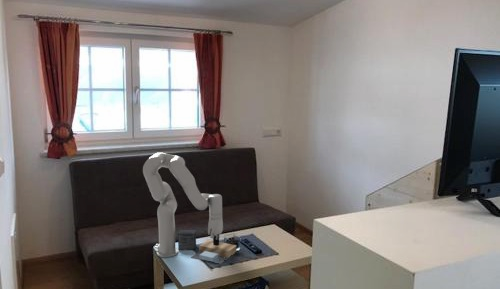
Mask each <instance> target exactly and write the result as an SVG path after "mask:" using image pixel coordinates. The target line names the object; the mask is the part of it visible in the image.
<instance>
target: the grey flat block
mask: <svg viewBox="0 0 500 289" xmlns="http://www.w3.org/2000/svg"><path fill="white" fill-rule="evenodd" d="M199 257H200V259H202V260H201V261H204V260H208V261H214V260H216V259H217V258H218V254H217V253H212V252H208V251H204V252H203V253H201V254H200V255H199ZM208 261H207V262H208Z"/></svg>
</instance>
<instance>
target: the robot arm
mask: <svg viewBox="0 0 500 289" xmlns="http://www.w3.org/2000/svg"><path fill="white" fill-rule="evenodd" d="M161 168H166V169H169V171H170V173H171V174H172V175H173V176H174V178H175V179H176V181H178V183H179V185H181V187H182V190H183V191H184V193H185V194H186V196H187V198H188V199H189V201H190V202H191V204H192V205H193V206H194V207H195V209H197V210H198V211H204V210H206V209H207V208H208V209H209V210H208V212H209V219H208V222H207V223H208V227H207V234H208V236H210V239H212V241H213V245H216V246H218V245H219V242H220V237H221V234H222V232H223V231H224V221H223V196H222V195H221V194H219V193H213V194H211V193H201V191H200V190H199V188H198V186H197V184H196V179H195V177H194V176H193V174H192V172H190V170H189V169H188V168H187V166H186V161H185V159H184V158H183V156H182V157H181V156H179V155H175V154H169V153H165V152H155V153H154V154H153V155H151V156H150V157H148V158H147V160H146V161H145V162H144V164H143V166H142V174H143V177H144V178H145V181H146V185H147V187H148V189H149V192H150V193H151V197H152V199H153V200H154V201H156V202H159V203H160V204H159V206H158V207H157V210H156V211H157V212H156V215H157V221H158V222H157V223H158V243H156V244H155V245H154V249H156V250H157V251H156V256H158V257H159V258H171V257H175V256H176V255H177V254H178V253H179V250H178V248H176V223H175V222H176V221H175V212H176V210H177V207H178V202H177V200H176V197H175V194H174V193H173V190H172V187H171V186H170V184H169V183H167V182H166V181H163V180H162V176H161V175H160V173H159V169H161Z"/></svg>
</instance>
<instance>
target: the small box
mask: <svg viewBox="0 0 500 289" xmlns="http://www.w3.org/2000/svg"><path fill="white" fill-rule="evenodd" d="M196 232H197V230H196V229H188V230H186V229H185V230H181V229H180V230H178V233H177V243H178V244H177V246H178V248H177V249H178V251H186V250H187V251H188V250H190V251H191V250H193V251H194V250H196V248H197V233H196Z"/></svg>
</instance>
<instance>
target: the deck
mask: <svg viewBox="0 0 500 289" xmlns="http://www.w3.org/2000/svg"><path fill="white" fill-rule="evenodd" d="M199 251H200V252H204V251H208V252H212V253H217V254H218V256H223V257H228V259H229V258H231V257H232V256H233V255H234V254H236V253H237V245H236V244H230V243H226V242H222V241H221V242H220V241H219V245H218V246H216V245H213V240H210V239H207V240H205V241H204V242H203V243H200V244H199V246H198V252H199ZM235 252H236V253H235ZM231 255H232V256H231ZM230 256H231V257H230Z"/></svg>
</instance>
